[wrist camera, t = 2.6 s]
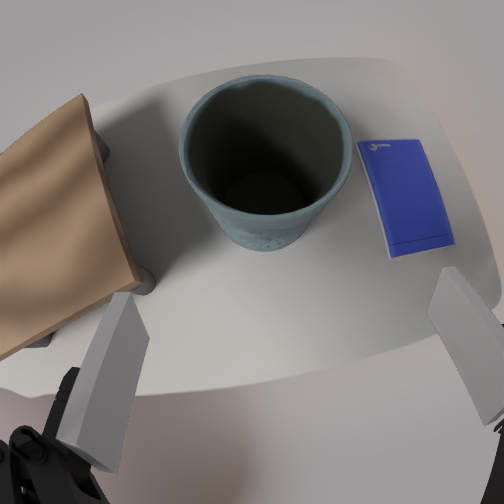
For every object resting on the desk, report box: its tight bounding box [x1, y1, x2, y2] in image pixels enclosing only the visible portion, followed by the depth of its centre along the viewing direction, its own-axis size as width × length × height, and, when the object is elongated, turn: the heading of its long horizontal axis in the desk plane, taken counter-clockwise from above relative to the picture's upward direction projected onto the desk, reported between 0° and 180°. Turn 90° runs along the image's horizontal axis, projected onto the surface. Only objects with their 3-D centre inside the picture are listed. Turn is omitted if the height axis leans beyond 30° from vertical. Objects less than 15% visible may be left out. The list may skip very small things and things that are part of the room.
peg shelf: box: [0, 93, 155, 361], centre depth 23 cm, size 20×18×8 cm
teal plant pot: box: [178, 75, 353, 251], centre depth 21 cm, size 10×10×12 cm
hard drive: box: [356, 139, 455, 259], centre depth 27 cm, size 2×8×12 cm
